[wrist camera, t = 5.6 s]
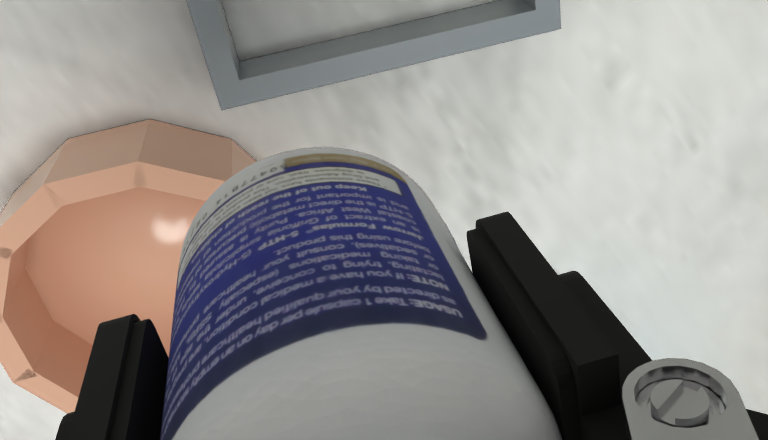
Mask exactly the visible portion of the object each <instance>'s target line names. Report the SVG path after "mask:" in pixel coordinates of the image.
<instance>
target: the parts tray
mask: <svg viewBox="0 0 768 440" xmlns="http://www.w3.org/2000/svg"><path fill="white" fill-rule="evenodd" d="M186 1H187V4H188V7H189V11H190V14H191V17H192V20H193V23H194V26H195V29H196V33H197V36H198V39H199V42H200V45H201V48H202V51H203V54H204V58H205V61H206V64H207V67H208V70H209V73H210V76H211V79H212V83H213V86H214V89H215V92H216V95H217V98H218V101H219V104H220V108H221V110H225V109H229V108H233V107H238V106H242V105H246V104H250V103H254V102H258V101H263V100H267V99H271V98H275V97H279V96H283V95H288V94H292V93H296V92H300V91H304V90H308V89H313V88H317V87H321V86H325V85H329V84H333V83H338V82H342V81H346V80H350V79H354V78H358V77H363V76H367V75H371V74H375V73H379V72H383V71H388V70H392V69H396V68H400V67H404V66H408V65H413V64H417V63H421V62H425V61H429V60H434V59H438V58H442V57H446V56H450V55H454V54H459V53H463V52H467V51H471V50H475V49H479V48H484V47H488V46H492V45H496V44H500V43H504V42H509V41H513V40H517V39H521V38H525V37H529V36H534V35H538V34H542V33H546V32H550V31H554V30H559V29H561V17H560V0H499V1H495V2H491V3H486V4H482V5H478V6H474V7H469V8H465V9H461V10H457V11H453V12H448V13H444V14H440V15H436V16H431V17H427V18H423V19H419V20H414V21H410V22H406V23H402V24H397V25H393V26H389V27H385V28H380V29H376V30H372V31H368V32H363V33H359V34H355V35H351V36H346V37H342V38H338V39H334V40H329V41H325V42H321V43H317V44H312V45H308V46H304V47H300V48H295V49H291V50H287V51H283V52H278V53H274V54H270V55H266V56H261V57H257V58H253V59H249V60H245V61H240V62H239V61H238V57H237V54H236V50H235V47H234V44H233V40H232V37H231V34H230V30H229V27H228V23H227V20H226V17H225V13H224V10H223V6H222V3H221V0H186Z"/></svg>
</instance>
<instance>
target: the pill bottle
mask: <svg viewBox="0 0 768 440" xmlns="http://www.w3.org/2000/svg"><path fill="white" fill-rule="evenodd" d="M160 440H562V437H561V433H560V430H559V427H558V425H557V422H556V420H555V417H554V415H553V413H552V411H551V409H550V407H549V405H548V403H547V401H546V399H545V397H544V396H543V394H542V392H541V391H540V389H539V387H538V385H537V384H536V382H535V380H534V378H533V377H532V375H531V373H530V371H529V370H528V368H527V366H526V365H525V363H524V361H523V359H522V358H521V356H520V354H519V352H518V351H517V349H516V347H515V345H514V344H513V342H512V340H511V339H510V337H509V335H508V334H507V332H506V330H505V329H504V327H503V325H502V324H501V322H500V320H499V319H498V317H497V315H496V314H495V312H494V310H493V308H492V307H491V305H490V303H489V302H488V300H487V298H486V297H485V295H484V293H483V291H482V290H481V288H480V286H479V284H478V282H477V281H476V279H475V277H474V275H473V273H472V272H471V270H470V268H469V266H468V265H467V263H466V261H465V259H464V258H463V256H462V254H461V252H460V251H459V249H458V247H457V245H456V242H455V240H454V238H453V237H452V235H451V233H450V231H449V229H448V227H447V225H446V224H445V222H444V221H443V219H442V218H441V216H440V215H439V213H438V211H437V209H436V208H435V206H434V204H433V203H432V201H431V200H430V199H429V197H428V196H427V195H426V193H425V192H424V191H423V189H422V188H421V187H420V186H419V185H418V184H417V183H416V182H415V181H414V180H413V179H412V178H410V177H409V176H408V175H407V174H405V173H404V172H403V171H401V170H400V169H398V168H397V167H395V166H394V165H392V164H390V163H388V162H386V161H384V160H382V159H380V158H377V157H375V156H372V155H369V154H366V153H362V152H358V151H354V150H349V149H342V148H332V147H313V148H302V149H296V150H291V151H286V152H282V153H279V154H276V155H273V156H270V157H267V158H265V159H262V160H260V161H258V162H256V163H254V164H252V165H250V166H248V167H246V168H245V169H243V170H241V171H240V172H238V173H237V174H235V175H234V176H232V177H231V178H229V179H228V180H227V181H226V182H224V183H223V184H222V185H221V186H220V187H219V188H218V189H217V190H216V191H215V192H214V193H213V194H212V195H211V196H210V197H209V198H208V199H207V201H206V202H205V203H204V204H203V205H202V207H201V208H200V210H199V211H198V213H197V215H196V216H195V218H194V219H193V221H192V223H191V225H190V228H189V230H188V232H187V234H186V237H185V240H184V243H183V246H182V250H181V256H180V261H179V268H178V276H177V285H176V294H175V303H174V312H173V322H172V332H171V342H170V352H169V361H168V370H167V379H166V388H165V397H164V406H163V415H162V424H161V433H160Z"/></svg>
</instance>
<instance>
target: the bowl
mask: <svg viewBox="0 0 768 440" xmlns="http://www.w3.org/2000/svg"><path fill="white" fill-rule="evenodd" d="M256 162H257V161H256V160H255V159H253V158H252V157H251V156H250V155H249V154H248V153H247V152H246V151H244V150H243V149H242V148H241V147H240V146H239V145H238V144H237V143H236V142H234V141H233V140H232V139H229V138H225V137H221V136H217V135H213V134H208V133H204V132H200V131H196V130H192V129H188V128H184V127H180V126H176V125H172V124H168V123H164V122H160V121H156V120H152V119H148V120H144V121H140V122H136V123H132V124H127V125H123V126H119V127H115V128H111V129H106V130H102V131H98V132H94V133H90V134H86V135H81V136H77V137H73V138H69V139H67V140H66V141H65V142H64V143H63V144H62V145H61V146H60V147H59V148H58V149H57V150H56V151H55V152H54V153H53V154H52V155H51V156H50V157H49V158H48V159H47V160H46V161H45V162H44V163H43V164H42V165H41V166H40V167H39V168H38V169H37V170H36V171H35V172H34V173H33V174H32V175H31V176H30V177H29V178H28V179H27V180H26V181H25V182H24V183H23V184H22V185H21V186H20V187H19V188H18V189H17V190H16V191H15V192H14V193H13V194H12V196H11V198H10V199H9V201H8V203H7V204H6V206H5V208H4V209H3V211H2V213H1V214H0V362H1V364H2V365H3V367H4V369H5V370H6V372H7V374H8V375H9V377H10V379H11V380H12V382H13V383H15V384H16V385H18V386H20V387H22V388H23V389H25V390H27V391H29V392H31V393H32V394H34V395H36V396H38V397H39V398H41V399H43V400H45V401H46V402H48V403H50V404H52V405H53V406H55V407H57V408H59V409H60V410H62V411H64V412H66V413H71V412H74V411H75V408H76V405H77V401H78V397H79V394H80V390H81V386H82V383H83V379H84V375H85V372H86V368H87V365H88V361H89V357H90V354H91V350H92V346H93V343H94V339H95V335H96V332H97V328H98V326H99V324H100V323H102V322H106V321H109V320H113V319H116V318H120V317H124V316H127V315H131V314H135V315H137V316H138V317H139V319H140V320H141V321H142V320H145V319H150V320H151V321H152V322H153V324H154V326H155V328H156V331H157V333H158V335H159V337H160V339H161V342H162V344H163V346H164V348H165V351H166V353H167V355H168V357H169V352H170V342H171V332H172V322H173V312H174V303H175V294H176V285H177V276H178V268H179V261H180V256H181V250H182V246H183V243H184V240H185V237H186V234H187V232H188V230H189V228H190V225H191V223H192V221H193V219H194V218H195V216H196V215H197V213H198V211H199V210H200V208H201V207H202V205H203V204H204V203H205V202H206V201H207V199H208V198H209V197H210V196H211V195H212V194H213V193H214V192H215V191H216V190H217V189H218V188H219V187H220V186H221V185H222V184H223V183H224V182H226V181H227V180H228V179H229V178H231V177H232V176H234V175H235V174H237V173H238V172H240V171H241V170H243V169H245V168H246V167H248V166H250V165H252V164H254V163H256Z"/></svg>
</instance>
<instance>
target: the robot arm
mask: <svg viewBox="0 0 768 440" xmlns="http://www.w3.org/2000/svg"><path fill="white" fill-rule="evenodd" d="M467 241H468V248H469V254H470V260H471V266H472V272H473V275H474V277H475V279H476V281H477V282H478V284H479V286H480V288H481V290H482V291H483V293H484V295H485V297H486V298H487V300H488V302H489V303H490V305H491V307H492V308H493V310H494V312H495V314H496V315H497V317H498V319H499V320H500V322H501V324H502V325H503V327H504V329H505V330H506V332H507V334H508V335H509V337H510V339H511V340H512V342H513V344H514V345H515V347H516V349H517V351H518V352H519V354H520V356H521V358H522V359H523V361H524V363H525V365H526V366H527V368H528V370H529V371H530V373H531V375H532V377H533V378H534V380H535V382H536V384H537V385H538V387H539V389H540V391H541V392H542V394H543V396H544V397H545V399H546V401H547V403H548V405H549V407H550V409H551V411H552V413H553V415H554V417H555V420H556V422H557V425H558V427H559V430H560V433H561V437H562V440H768V415H767V414H763V413H760V412H756V411H752V410H748V409H746V408H745V406H744V404H743V401H742V399H741V397H740V394H739V392H738V391H737V389H736V388H735V386H734V385H733V383H732V382H731V380H730V379H729V378H727V377H726V376H725V375H723V374H722V373H721V372H720V371H718V370H717V369H715V368H712V367H710V366H708V365H706V364H704V363H701V362H697V361H692V360H688V359H677V358H666V359H660V360H654V361H652V360H651V359H650V357H649V356H648V355H647V354H646V352H645V351H644V350H643V349H642V348H641V346H640V345H639V344H638V343H637V342H636V340H635V339H634V338H633V337H632V336H631V334H630V333H629V332H628V331H627V330H626V328H625V327H624V326H623V325H622V324H621V322H620V321H619V320H618V319H617V317H616V316H615V315H614V314H613V313H612V311H611V310H610V309H609V308H608V307H607V305H606V304H605V303H604V302H603V301H602V299H601V298H600V297H599V296H598V295H597V293H596V292H595V291H594V290H593V289H592V287H591V286H590V285H589V284H588V282H587V281H586V280H585V279H584V278H583V276H581V275H580V274H579V273H578V272H576V271H571V272H567V273H564V274H560V275H557V273H556V272H555V271H554V270H553V268H552V267H551V266H550V264H549V263H548V262H547V261H546V259H545V258H544V257H543V255H542V254H541V253H540V251H539V250H538V249H537V248H536V246H535V245H534V244H533V242H532V241H531V240H530V239H529V237H528V236H527V235H526V233H525V232H524V231H523V229H522V228H521V227H520V226H519V224H518V223H517V222H516V220H515V219H514V218H513V217H512V215H511V214H510V213H509V212H504V213H500V214H497V215H493V216H489V217H486V218H482V219H478V220H477V221H476V229H473V230H470V231H467ZM168 361H169V357H168V355H167V353H166V351H165V348H164V346H163V344H162V342H161V339H160V337H159V335H158V333H157V331H156V328H155V326H154V324H153V322H152V321H151V320H150V319H145V320H142V321H141V320H140V319H139V317H138V316H137V315H135V314H131V315H127V316H124V317H120V318H116V319H113V320H109V321H106V322H102V323H100V324H99V326H98V328H97V332H96V335H95V339H94V343H93V346H92V350H91V354H90V357H89V361H88V365H87V368H86V372H85V375H84V379H83V383H82V386H81V390H80V394H79V397H78V401H77V405H76V408H75V411H74V412H71V413H68V414H66V415H65V416H64V417H63V419H62V421H61V423H60V426H59V429H58V433H57V436H56V439H55V440H160V433H161V424H162V415H163V406H164V397H165V388H166V379H167V370H168Z"/></svg>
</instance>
